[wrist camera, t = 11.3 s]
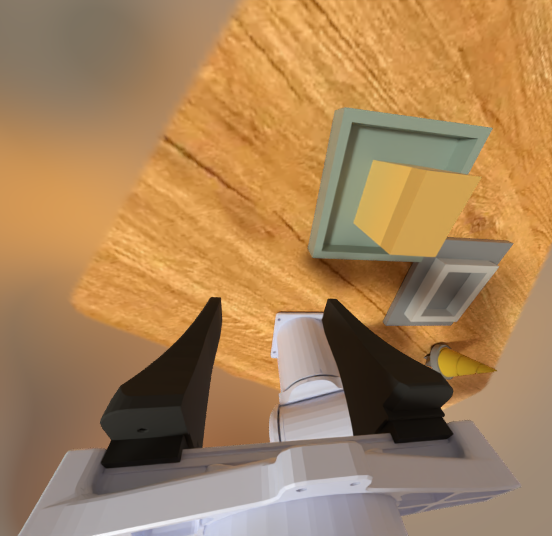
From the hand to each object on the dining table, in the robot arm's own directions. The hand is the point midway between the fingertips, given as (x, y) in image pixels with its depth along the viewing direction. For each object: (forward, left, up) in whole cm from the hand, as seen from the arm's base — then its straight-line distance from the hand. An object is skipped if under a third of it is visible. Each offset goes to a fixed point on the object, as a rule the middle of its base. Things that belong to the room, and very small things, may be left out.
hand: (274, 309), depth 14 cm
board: (-5, -24, -10) cm, 27 cm away
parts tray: (+6, -11, -10) cm, 16 cm away
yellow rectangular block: (+6, -11, -10) cm, 16 cm away
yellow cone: (-18, -31, -11) cm, 38 cm away
